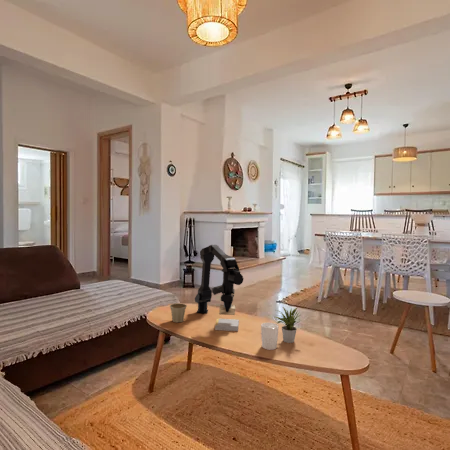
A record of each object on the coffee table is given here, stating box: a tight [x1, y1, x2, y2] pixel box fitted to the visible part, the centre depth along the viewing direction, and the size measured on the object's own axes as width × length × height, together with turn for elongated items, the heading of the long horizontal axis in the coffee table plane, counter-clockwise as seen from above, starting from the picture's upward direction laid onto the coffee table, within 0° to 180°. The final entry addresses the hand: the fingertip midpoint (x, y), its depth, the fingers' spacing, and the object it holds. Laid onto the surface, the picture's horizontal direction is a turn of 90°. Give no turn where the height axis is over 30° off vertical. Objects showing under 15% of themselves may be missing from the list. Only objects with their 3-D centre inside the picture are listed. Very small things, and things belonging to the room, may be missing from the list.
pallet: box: [218, 304, 236, 316], centre depth 173 cm, size 8×6×4 cm
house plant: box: [274, 306, 301, 344], centre depth 157 cm, size 14×14×16 cm
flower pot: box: [169, 302, 188, 324], centre depth 181 cm, size 9×9×9 cm
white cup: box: [260, 322, 279, 351], centre depth 148 cm, size 8×8×10 cm
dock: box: [214, 318, 240, 332], centre depth 173 cm, size 11×12×3 cm
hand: (227, 310), depth 173 cm, fingers closed on pallet, 6 cm apart
